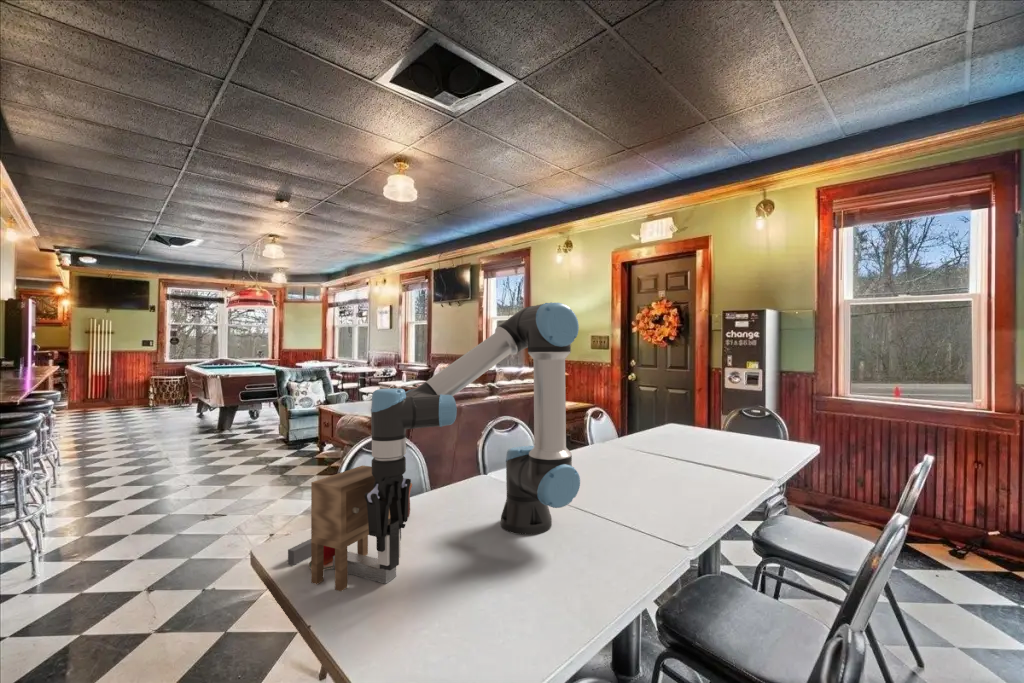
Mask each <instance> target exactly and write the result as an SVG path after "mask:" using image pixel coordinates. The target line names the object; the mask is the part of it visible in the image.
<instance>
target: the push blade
mask: <svg viewBox="0 0 1024 683" xmlns="http://www.w3.org/2000/svg"><path fill="white" fill-rule="evenodd" d="M387 535H389V540H390V565H388V566H385V565H381V564H378V557H377V558H376V557H372V556H368V555H366V556H365V555H361V554H357V553H356V552H351V551H348V550H347V574H349V575H353V576H357V577H360V578H364V579H367V580H372V581H373V582H374V581H375V582H379V583H383V584H388V583H389V582H390V581H392V580H394V579H395V578H396V577H397V567H398V566H399V565H400V558H399V521H398V520H393V519H388V527H387ZM332 570H334V571H335V556H333V568H332Z"/></svg>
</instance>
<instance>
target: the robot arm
mask: <svg viewBox="0 0 1024 683" xmlns="http://www.w3.org/2000/svg"><path fill="white" fill-rule="evenodd" d="M579 329H580V326H579V320H578V317H577V315H576V314H575V312H574V311H573V309H572V308H571V307H569V306H568V305H567V304H565V303H562V302H545V303H541V304H537V305H530V306H527V307H524V308H522V309H520V310H518V311H517V312H516V313H514V314H513V315H512V316H510V317H509V318H507V319H506V320H505V321H504V322H502V323H501V324H500V325H498V326H496V327H495V329H494V333H492V334H491V335H490V336H489V337H487V338H485V339H484V340H483V341H482V342H480V343H479V344H478V345H476V346H474V347H473V348H472V349H470V350H469V351H467V352H466V353H464V354H463V355H462V356H460V357H459V358H458V359H456V360H455V361H453V362H452V363H450V364H448V366H446V367H445V368H443V369H442V370H440V371H439V372H438V373H436V374H434V375H433V376H432V377H430V378H429V379H427V380H426V381H425V382H423V383H422V384H420V385H418V387H416V388H415V389H413V388H412V389H409V390H407V391H406V390H405V389H403V388H395V387H393V388H379V389H375V390H374V391H373V393H372V395H371V408H370V412H371V414H370V417H371V418H370V419H371V423H370V424H371V457H373V458H372V459H371V467H372V475H373V476H374V478H375V482H374V486H373V488H374V489H373V490H372V491H371V492H370V493H368V492H367V493H365V496H364V497H365V500H366V502H367V511H368V526H369V535H368V536H371V537H376V551H377V559H378V564H381V565H385V566H388V565H390V540H389V535H387V527H388V516H389V509H390V518H391V519H393V520H398V521H399V559H400V558H401V541H402V529H405V527H406V522H408V519H409V517H408V500H409V487H410V483H412V480H411V479H410V478H407V477H404V474H405V473H406V471H407V469H406V468H407V467H406V466H407V463H406V462H407V461H406V460H407V459H406V453H407V448H406V447H407V446H406V445H407V443H406V442H407V440H406V436H407V434H406V433H407V432H406V431H407V430H413V429H422V428H423V429H425V428H434V427H435V428H436V427H440V428H443V427H445V426H451V425H453V424H454V423H455V421H456V419H457V415H458V412H457V411H458V409H457V402H456V399H455V397H454V396H455V395H457V394H458V393H459V392H461V391H462V390H463V389H465V388H466V387H468V386H469V385H470V384H472V383H473V382H474V381H476V380H477V379H479V378H480V377H481V376H482V375H483V374H485V373H487V372H488V371H489V370H490V369H492V368H493V367H495V366H496V365H497V364H499V363H500V362H501V361H503V360H504V359H506V358H507V357H508V356H510V355H512V356H514V355H516V354H518V353H520V352H521V351H523V350H525V349H527V354H528V355H529V356H530V357H531V358H532V359H533V360H532V361H533V417H534V418H533V429H534V430H533V432H534V433H533V434H534V435H533V439H534V440H533V443H534V445H523V446H515V447H511V448H509V449H508V450H507V451H506V456H505V469H506V470H505V472H506V474H505V475H506V479H505V480H506V481H505V482H506V498H505V499H506V500H505V502H504V505H503V508H502V511H501V515H500V527H501V528H502V529H503V530H504V531H505V532H509V533H511V534H514V535H524V536H525V535H528V536H529V535H538V534H543V533H545V532H547V531H549V530H550V529H551V528H552V525H553V524H552V523H553V519H552V515H551V511H550V509H549V507H550V508H553V509H560V508H564V507H566V506H567V505H570V504H571V503H572V502H573V500H574V499H575V498H576V496H577V495H578V493H579V491H580V486H581V476H580V473H579V472H578V471H577V469H576V468H575V467H574V466H572V463H573V461H572V460H573V459H572V458H573V457H572V451H570V450H569V449H568V448H567V433H566V432H567V431H566V430H567V429H566V428H567V424H566V423H567V417H566V416H567V413H566V409H567V408H566V407H567V406H566V403H567V402H566V400H567V399H566V359H567V357H568V356H569V355H570V354H571V350H572V349H571V346H572V343H573V342H574V341H575V339H576V338H577V337H578V334H579ZM382 499H383V500H382ZM402 515H403V516H402Z"/></svg>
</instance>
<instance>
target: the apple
mask: <svg viewBox="0 0 1024 683" xmlns="http://www.w3.org/2000/svg"><path fill="white" fill-rule="evenodd" d="M333 556H335V548H332V547H328V546H324V571H325V570H330V569H333ZM307 567H308V568H309V569H311V560H310V561H309V562H308V565H307Z"/></svg>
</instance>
